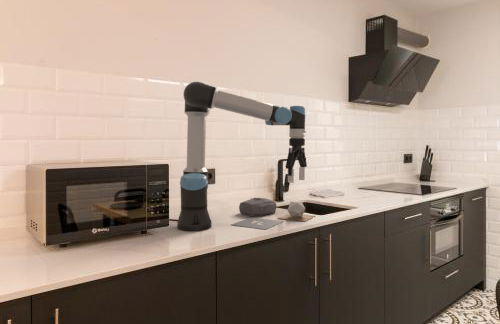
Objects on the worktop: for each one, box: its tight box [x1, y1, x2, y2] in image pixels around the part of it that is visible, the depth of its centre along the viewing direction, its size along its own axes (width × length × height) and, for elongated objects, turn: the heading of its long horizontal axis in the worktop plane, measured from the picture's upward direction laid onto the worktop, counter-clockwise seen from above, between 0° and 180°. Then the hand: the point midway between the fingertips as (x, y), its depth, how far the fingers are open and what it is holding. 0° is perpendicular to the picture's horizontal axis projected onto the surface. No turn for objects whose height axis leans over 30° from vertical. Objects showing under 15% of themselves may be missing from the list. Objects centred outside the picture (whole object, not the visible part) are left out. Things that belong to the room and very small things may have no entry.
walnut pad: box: [277, 213, 316, 223], centre depth 185 cm, size 14×14×1 cm
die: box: [287, 200, 306, 218], centre depth 184 cm, size 8×9×10 cm
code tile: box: [230, 216, 285, 231], centre depth 173 cm, size 18×18×1 cm
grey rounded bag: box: [238, 197, 278, 217], centre depth 197 cm, size 15×8×20 cm
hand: (296, 181), depth 183 cm, fingers open, 13 cm apart
